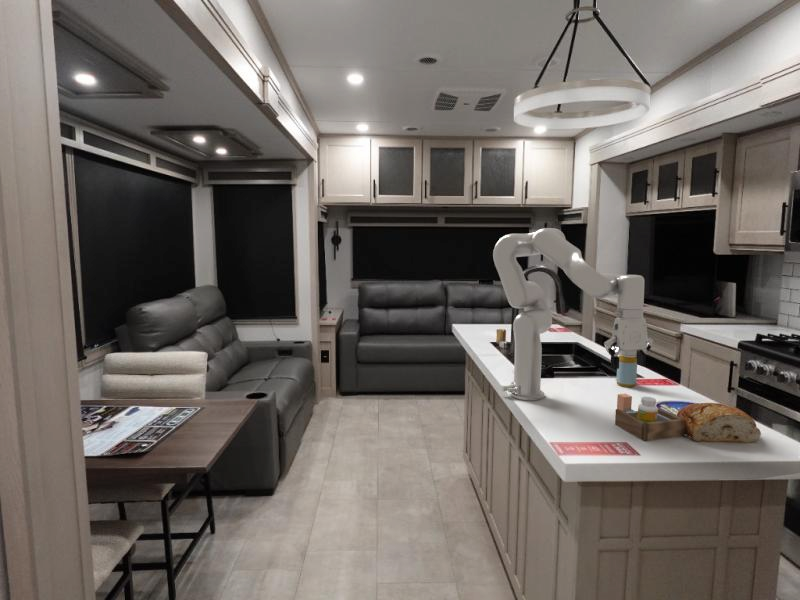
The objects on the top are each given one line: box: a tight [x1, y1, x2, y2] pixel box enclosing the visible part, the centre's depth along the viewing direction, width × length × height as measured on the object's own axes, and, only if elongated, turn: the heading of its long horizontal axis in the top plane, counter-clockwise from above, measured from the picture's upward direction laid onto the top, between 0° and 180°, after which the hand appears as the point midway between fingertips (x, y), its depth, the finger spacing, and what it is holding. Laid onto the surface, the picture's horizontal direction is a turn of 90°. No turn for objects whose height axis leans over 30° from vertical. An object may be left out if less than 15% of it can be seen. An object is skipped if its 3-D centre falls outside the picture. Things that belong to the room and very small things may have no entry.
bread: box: [676, 402, 762, 443], centre depth 147 cm, size 20×18×10 cm
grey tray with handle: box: [616, 393, 671, 421], centre depth 153 cm, size 11×18×7 cm, turn 14°
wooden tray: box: [614, 406, 686, 442], centre depth 149 cm, size 14×13×5 cm
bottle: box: [616, 350, 638, 388], centre depth 193 cm, size 7×7×15 cm
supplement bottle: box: [637, 396, 659, 423], centre depth 149 cm, size 5×5×10 cm
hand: (628, 366), depth 158 cm, fingers open, 9 cm apart
